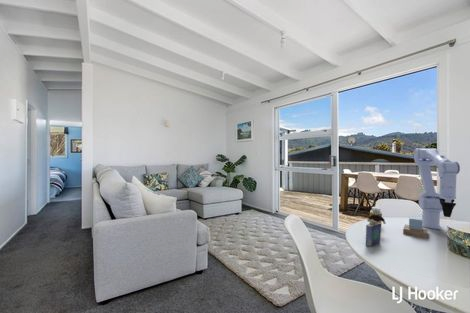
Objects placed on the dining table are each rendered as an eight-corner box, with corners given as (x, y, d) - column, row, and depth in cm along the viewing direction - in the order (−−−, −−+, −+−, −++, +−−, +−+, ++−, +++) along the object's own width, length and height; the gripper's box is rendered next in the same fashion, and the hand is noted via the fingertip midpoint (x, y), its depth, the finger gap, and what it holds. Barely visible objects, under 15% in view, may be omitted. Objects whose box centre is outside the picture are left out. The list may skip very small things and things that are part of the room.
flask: (370, 247, 97) (370, 222, 97) (363, 244, 100) (363, 220, 99) (381, 243, 102) (382, 219, 101) (374, 240, 104) (375, 217, 104)
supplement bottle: (378, 228, 120) (378, 209, 120) (367, 225, 125) (367, 207, 125) (383, 226, 123) (384, 208, 123) (372, 224, 128) (373, 205, 128)
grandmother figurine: (367, 233, 113) (368, 208, 113) (366, 230, 117) (367, 206, 116) (386, 235, 110) (386, 209, 110) (384, 233, 114) (385, 207, 113)
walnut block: (405, 230, 120) (405, 224, 120) (427, 234, 114) (427, 228, 114) (403, 234, 114) (403, 228, 114) (426, 239, 108) (427, 233, 108)
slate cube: (409, 226, 118) (409, 216, 117) (421, 228, 115) (421, 218, 114) (409, 228, 114) (409, 218, 113) (422, 230, 111) (422, 220, 110)
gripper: (436, 184, 118) (435, 210, 118) (436, 187, 107) (435, 216, 107) (455, 185, 113) (454, 213, 114) (458, 189, 102) (456, 219, 102)
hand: (446, 215), depth 110 cm, fingers open, 7 cm apart
